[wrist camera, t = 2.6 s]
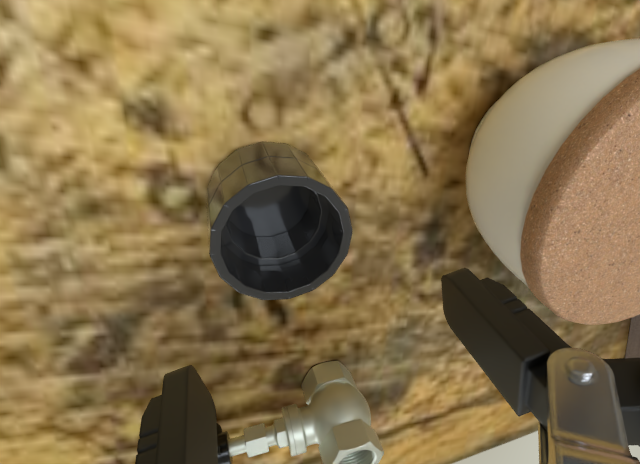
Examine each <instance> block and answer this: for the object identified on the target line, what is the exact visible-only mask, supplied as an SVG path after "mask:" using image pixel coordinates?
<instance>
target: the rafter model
mask: <svg viewBox="0 0 640 464" xmlns="http://www.w3.org/2000/svg"><path fill="white" fill-rule="evenodd" d="M638 357H640V314H639V315H637V316H634V317H632V318H631V324H630V331H629V337H628V343H627V349H626V355H625V358H638Z"/></svg>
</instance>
